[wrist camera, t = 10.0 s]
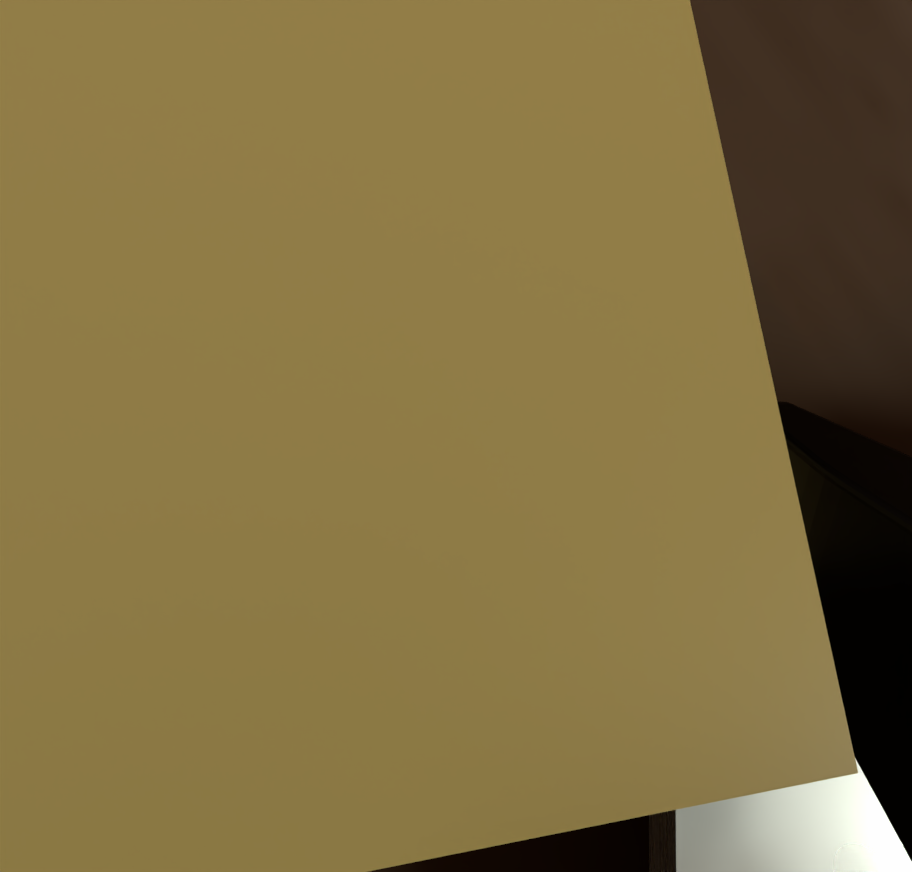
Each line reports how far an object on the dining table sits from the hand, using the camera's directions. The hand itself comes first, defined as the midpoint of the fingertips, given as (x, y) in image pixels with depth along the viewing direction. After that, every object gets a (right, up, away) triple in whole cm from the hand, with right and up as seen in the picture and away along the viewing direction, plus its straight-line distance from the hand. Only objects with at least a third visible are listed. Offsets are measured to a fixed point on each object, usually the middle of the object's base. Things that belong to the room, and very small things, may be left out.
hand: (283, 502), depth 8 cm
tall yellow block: (-1, -1, +8) cm, 9 cm away
